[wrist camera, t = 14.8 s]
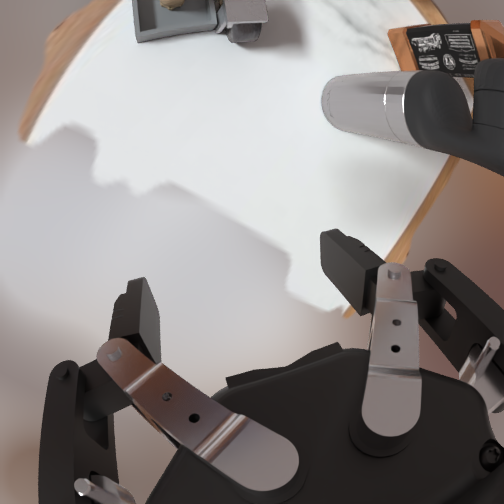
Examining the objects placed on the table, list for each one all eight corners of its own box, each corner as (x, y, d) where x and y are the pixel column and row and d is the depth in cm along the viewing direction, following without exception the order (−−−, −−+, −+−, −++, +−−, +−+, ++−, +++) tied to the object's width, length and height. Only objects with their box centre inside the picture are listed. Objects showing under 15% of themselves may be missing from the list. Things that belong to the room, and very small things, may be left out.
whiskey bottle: (404, 79, 40) (570, 104, 13) (385, 30, 35) (554, 23, 8) (434, 69, 41) (579, 91, 13) (418, 24, 36) (565, 25, 8)
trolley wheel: (242, -10, 28) (265, -38, 20) (251, 45, 33) (277, 28, 24) (204, -8, 27) (218, -38, 19) (213, 49, 32) (229, 30, 23)
